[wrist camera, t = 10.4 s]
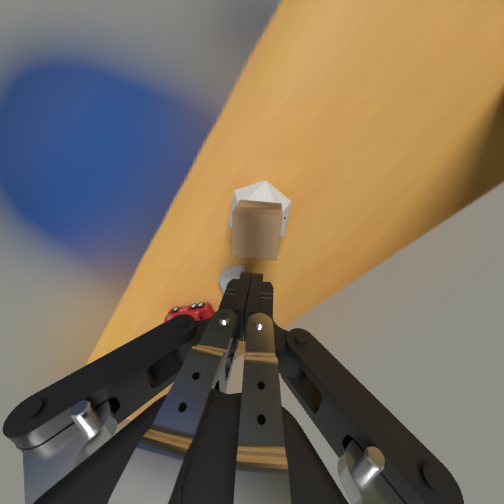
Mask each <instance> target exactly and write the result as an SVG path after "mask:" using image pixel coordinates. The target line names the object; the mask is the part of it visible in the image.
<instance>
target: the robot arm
mask: <svg viewBox="0 0 504 504" xmlns="http://www.w3.org/2000/svg"><path fill="white" fill-rule="evenodd" d="M243 337H244V341H246V343H245V355H244V369H243V382H242V393H236V394H226V388H227V384H228V380H229V377H230V373H231V370H232V366H233V362H234V359H235V355H236V349H237V347H238V341H239V340H240V341H243ZM279 373H280V374H281V377H282V379H283V380H284V382H285V383H286V384H287V386H288V387H289V389H290V390H291V391H292V393H293V394H294V396H295V397H296V398H297V400H298V401H299V403H300V404H301V405H302V407H303V408H304V410H305V411H306V412H307V414H308V415H309V417H310V418H311V419H312V421H313V422H314V424H315V425H316V426H317V428H318V429H319V431H320V432H321V433H322V435H323V436H324V437H325V439H326V440H327V442H328V443H329V445H330V446H331V447H332V449H333V450H334V452H335V453H336V454H337V456H338V457H339V462H338V474H339V478H340V481H341V484H342V486H343V488H344V489H345V492H346V493H347V495H348V497H349V500H350V503H351V504H464V500H463V496H462V493H461V490H460V488H459V486H458V484H457V482H456V481H455V479H454V477H453V476H452V474H451V473H450V472H449V471H448V469H447V468H446V467H445V466H444V465H443V464H442V463H441V462H440V461H439V460H438V459H437V458H436V457H435V456H434V455H433V454H432V453H431V452H430V451H429V450H428V449H427V448H426V447H425V446H424V445H423V444H422V443H421V442H420V441H419V440H418V439H417V438H416V437H415V436H414V435H413V434H412V433H411V432H410V431H409V430H408V429H407V428H406V427H405V426H404V425H403V424H402V423H401V422H400V421H399V420H398V419H397V418H396V417H395V416H393V414H392V413H391V412H390V411H389V410H388V409H387V408H385V407H384V406H383V405H382V404H381V403H380V402H379V401H378V400H377V399H376V398H375V397H374V396H373V395H372V394H371V393H370V392H369V391H368V390H367V389H366V388H365V387H364V386H363V385H362V384H361V383H360V382H359V381H358V380H357V379H356V378H355V377H354V376H353V375H352V374H351V373H350V372H349V371H348V370H347V369H346V368H345V367H344V366H343V365H342V364H341V363H340V362H339V361H338V360H337V359H336V358H335V357H334V356H333V355H332V354H331V353H330V352H329V351H328V350H327V349H326V348H325V347H324V346H322V344H321V343H320V342H318V340H317V339H315V338H314V337H313V336H312V335H311V334H310V333H309V332H307V331H306V330H304V329H300V328H295V329H292V330H291V331H286V330H284V329H282V328H280V327H278V326H277V325H276V324H275V322H274V321H273V286H272V284H271V283H270V282H263V274H257V273H253V274H252V273H247V272H241V274H240V277H239V279H231V280H230V281H229V282H228V284H227V287H226V289H225V292H224V295H223V298H222V301H221V304H220V306H219V309H218V311H216V312H215V313H214V314H213V315H212V317H211V318H208V319H204V320H198V321H195V318H194V317H193V316H191V315H188V314H181V315H178V316H176V317H174V318H172V319H170V320H168V321H166V322H165V323H163V324H161V325H159V326H157V327H155V328H154V329H152V330H150V331H148V332H146V333H145V334H143V335H141V336H139V337H137V338H135V339H134V340H132V341H130V342H128V343H126V344H125V345H123V346H121V347H119V348H117V349H115V350H114V351H112V352H110V353H108V354H106V355H105V356H103V357H101V358H99V359H97V360H95V361H94V362H92V363H90V364H88V365H86V366H85V367H83V368H81V369H79V370H77V371H75V372H74V373H72V374H70V375H68V376H66V377H65V378H63V379H61V380H59V381H57V382H55V383H54V384H52V385H50V386H49V387H46V388H45V389H43V390H41V391H39V392H37V393H35V394H34V395H32V396H30V397H28V398H27V399H26V400H24V401H23V402H21V403H20V404H19V405H18V406H17V407H16V408H15V409H14V410H13V411H12V412H11V413H10V414H9V416H8V417H7V419H6V420H5V423H4V425H3V433H4V435H5V436H6V437H7V438H9V439H10V440H11V441H12V442H13V443H15V445H16V447H17V448H18V449H19V450H20V451H21V452H22V453H23V467H24V490H25V504H348V502H347V500H346V499H345V497H344V496H343V494H342V492H341V491H340V489H339V488H338V486H337V485H336V483H335V481H334V480H333V478H332V476H331V475H330V473H329V472H328V470H327V468H326V467H325V465H324V463H323V462H322V460H321V459H320V457H319V455H318V454H317V452H316V451H315V449H314V447H313V446H312V444H311V443H310V441H309V439H308V438H307V436H306V434H305V433H304V431H303V430H302V428H301V426H300V425H299V424H298V422H297V421H296V419H295V418H294V417H293V416H292V415H291V414H290V413H289V412H288V411H287V410H286V409H285V408H283V407H282V405H281V393H280V380H279ZM171 383H173V384H172V386H171V388H170V390H169V392H168V394H166V395H164V396H163V397H161V398H160V399H158V400H157V401H155V402H154V403H153V404H152V405H150V406H149V407H148V408H147V409H146V410H144V411H143V412H142V413H141V414H140V415H138V416H137V417H136V418H135V419H134V420H132V421H131V422H130V423H129V424H128V425H127V426H125V427H124V428H123V429H122V430H120V431H119V432H118V433H117V434H115V435H114V433H115V431H116V428H117V425H118V424H119V423H120V422H122V421H123V420H124V419H126V418H127V417H128V416H130V415H131V414H132V413H134V412H135V411H136V410H137V409H139V408H140V407H141V406H143V405H144V404H145V403H147V402H148V401H149V400H151V399H152V398H153V397H154V396H156V395H157V394H158V393H160V392H161V391H162V390H164V389H165V388H166V387H168V386H169V385H170V384H171ZM113 435H114V436H113Z"/></svg>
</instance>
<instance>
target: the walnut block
mask: <svg viewBox="0 0 504 504" xmlns="http://www.w3.org/2000/svg"><path fill="white" fill-rule="evenodd" d="M282 219H283V213H282V204H281V203H274V202H262V201H250V200H239V202H238V204H237V205H236V207H235V209H234V210H233V212H232V256H237V257H247V258H257V259H267V260H277V256H278V249H279V241H280V234H281V226H282Z"/></svg>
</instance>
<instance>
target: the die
mask: <svg viewBox="0 0 504 504" xmlns="http://www.w3.org/2000/svg"><path fill="white" fill-rule="evenodd" d="M239 200H250V201H262V202H274V203H281V204H282V213H283V219H282V226H281V234H280V237H283V236H284V232H285V227H286V223H287V218H288V214H289V209H290V205H291V201H290V200H289V199H288V198H287V197H285V196H284V195H283V194H282V193H280V192H279V191H278V190H277V189H276V188H274V187H273V186H272V185H271V184H269V183H268V182H267V181H266V180H265V181H262V182H259V183H255V184H252V185H249V186H246V187H242V188H239V189H236V190H234V194H233V200H232V205H231V211H230V216H229V222H228V226H230V227H231V228H232V212H233V210H234V209H235V207H236V205H237V204H238V202H239Z"/></svg>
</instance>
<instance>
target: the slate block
mask: <svg viewBox="0 0 504 504" xmlns="http://www.w3.org/2000/svg"><path fill="white" fill-rule="evenodd" d="M241 272H246V271H245V268H244V265H243V264H241V265H236V266H232V267H227V268H223V270H222V272H221V275H220V277H219V280H218V281H219V283H220V286H221V288H222V290H223V292H225V289H226V287H227V284H228V282H229V281H230V280H231V279H239V277H240V274H241Z"/></svg>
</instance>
